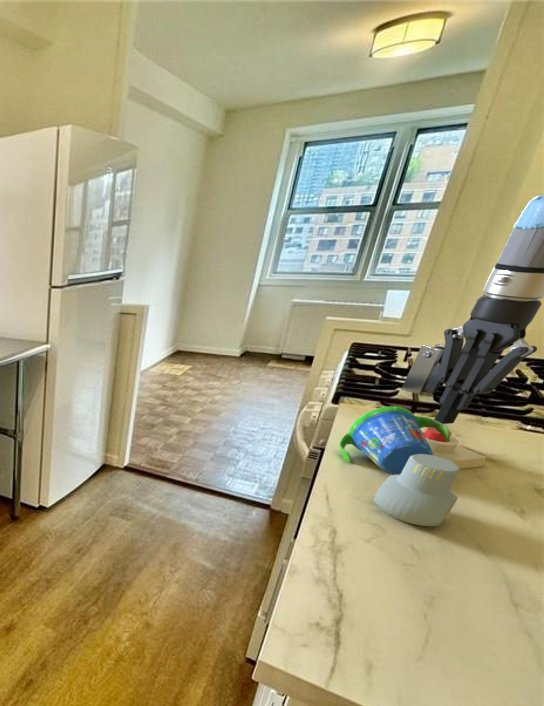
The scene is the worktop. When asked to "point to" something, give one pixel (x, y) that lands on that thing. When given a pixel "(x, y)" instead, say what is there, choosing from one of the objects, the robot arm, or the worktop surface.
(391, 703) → the worktop surface
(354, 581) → the worktop surface
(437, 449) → the button housing
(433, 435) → the button
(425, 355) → the lever bracket
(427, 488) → the air freshener
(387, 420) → the snack cup
